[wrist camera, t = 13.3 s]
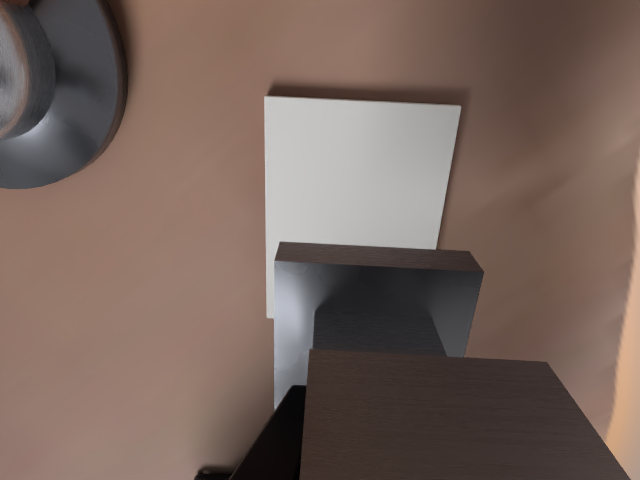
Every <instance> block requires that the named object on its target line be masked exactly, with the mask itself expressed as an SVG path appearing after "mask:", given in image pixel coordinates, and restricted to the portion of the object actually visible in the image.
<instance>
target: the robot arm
mask: <svg viewBox="0 0 640 480" xmlns="http://www.w3.org/2000/svg"><path fill="white" fill-rule="evenodd" d="M306 387H307V385H292V386H291V387H290V388H289V390H288V391H287V393H286V394H285V396H284V397H283V399H282V400H281V402H280V403H279V405H278V406H277V408H276V409H275V411H274V412H273V414H272V415H271V417H270V418H269V420H268V421H267V423H266V424H265V426H264V427H263V429H262V430H261V432H260V433H259V435H258V436H257V438H256V439H255V441H254V442H253V444H252V445H251V447H250V448H249V450H248V451H247V453H246V454H245V456H244V457H243V459H242V460H241V462H240V463H239V465H238V466H237V468H236V469H235V471H234V472H233V474H232V475H215V474H198V475H196V476H195V478H194V480H300V466H301V453H302V440H303V427H304V413H305V400H306Z"/></svg>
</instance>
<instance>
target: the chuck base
mask: <svg viewBox="0 0 640 480" xmlns="http://www.w3.org/2000/svg"><path fill="white" fill-rule="evenodd" d="M28 4H29V5H30V7H31V8H32V10H33V11H34V13H35V14H36V16H37V18H38V19H39V21H40V23H41V25H42V27H43V29H44V31H45V33H46V36H47V38H48V41H49V43H50V47H51V50H52V54H53V58H54V64H55V77H56V80H55V91H54V95H53V100H52V102H51V105H50V108H49V110H48V112H47V113H46V115H45V117H44V118H43V119H42V120H41V121H40V123H39V124H38V125H37V126H35V127H34V128H33V129H32V130H30V131H29V132H27V133H25V134H23V135H21V136H18V137H15V138H12V139H8V140H4V141H0V188H7V189H28V188H35V187H41V186H45V185H48V184H51V183H55V182H57V181H59V180H62V179H64V178H66V177H68V176H70V175H72V174H75V173H77V172H79V171H81V170H83V169H84V168H86V167H87V166H88V165H90V164H91V163H93V162H94V161H95V160H96V159H97V158H98V157H99V156H100V155H101V154H102V153H103V152H104V151H105V150H106V148H107V147H108V146H109V144H110V143H111V141H112V140H113V138H114V136H115V134H116V132H117V130H118V128H119V125H120V122H121V119H122V116H123V113H124V109H125V103H126V98H127V66H126V58H125V52H124V47H123V42H122V39H121V36H120V32H119V29H118V26H117V23H116V20H115V18H114V16H113V13H112V11H111V9H110V6H109V4H108V2H107V0H30V1H29V3H28Z"/></svg>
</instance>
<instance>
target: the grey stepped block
mask: <svg viewBox="0 0 640 480" xmlns="http://www.w3.org/2000/svg"><path fill="white" fill-rule="evenodd" d="M483 274H484V271H483V270H482V268H481V267H480V266H479V264H478V263H477V261H476V260H475V259H474V257H473V256H472V254H471V253H470V252H469V251H455V250H435V249H416V248H397V247H378V246H359V245H339V244H320V243H301V242H282V241H280V242H279V246H278V249H277V253H276V256H275V260H274V411H275V409H276V408H277V406H278V405H279V403H280V402H281V400H282V399H283V397H284V396H285V394H286V393H287V391H288V390H289V388H290V387H291V386H292V385H307V387H306V400H305V413H304V427H303V440H302V453H301V466H300V480H631V479H630V478H629V477H628V475H627V474H626V472H625V471H624V470H623V468H622V467H621V466H620V464H619V463H618V461H617V460H616V459H615V457H614V456H613V454H612V453H611V451H610V450H609V449H608V447H607V446H606V444H605V443H604V442H603V440H602V439H601V437H600V436H599V435H598V433H597V432H596V430H595V429H594V427H593V426H592V425H591V423H590V422H589V420H588V419H587V418H586V416H585V415H584V413H583V412H582V411H581V409H580V408H579V406H578V405H577V404H576V402H575V401H574V399H573V398H572V397H571V395H570V394H569V392H568V391H567V390H566V388H565V387H564V385H563V384H562V383H561V381H560V380H559V378H558V377H557V376H556V374H555V373H554V371H553V370H552V369H551V367H550V366H549V364H548V363H547V362H539V361H520V360H501V359H483V358H464V354H465V349H466V345H467V341H468V337H469V333H470V329H471V324H472V320H473V316H474V312H475V308H476V303H477V299H478V295H479V291H480V287H481V282H482V278H483Z"/></svg>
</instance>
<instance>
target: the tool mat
mask: <svg viewBox="0 0 640 480" xmlns="http://www.w3.org/2000/svg"><path fill="white" fill-rule="evenodd" d="M264 106H265V200H266V294H267V318H274V260H275V256H276V253H277V249H278V246H279V242H280V241H282V242H301V243H320V244H339V245H359V246H378V247H397V248H416V249H435V250H436V245H437V240H438V234H439V229H440V223H441V217H442V212H443V206H444V201H445V195H446V190H447V184H448V179H449V173H450V167H451V162H452V156H453V151H454V145H455V140H456V134H457V128H458V123H459V117H460V112H461V106H459V105H449V104H429V103H409V102H389V101H369V100H349V99H329V98H308V97H288V96H268V95H266V96H264Z"/></svg>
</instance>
